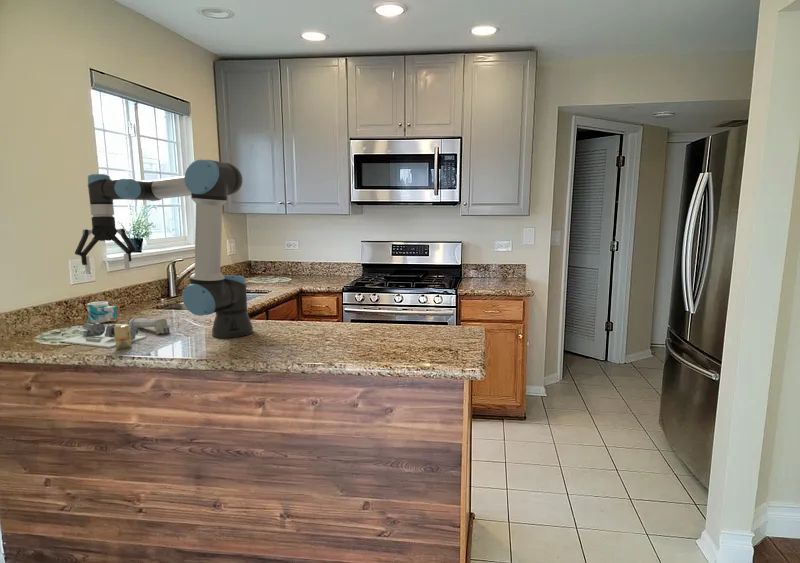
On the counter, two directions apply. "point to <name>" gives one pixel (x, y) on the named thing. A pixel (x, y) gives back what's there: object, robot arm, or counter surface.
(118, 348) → the gold upright block
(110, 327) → the shaft
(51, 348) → the counter surface
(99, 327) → the shaft
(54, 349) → the counter surface
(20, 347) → the counter surface
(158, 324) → the grey hammer
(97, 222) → the robot arm
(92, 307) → the mug
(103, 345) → the board
